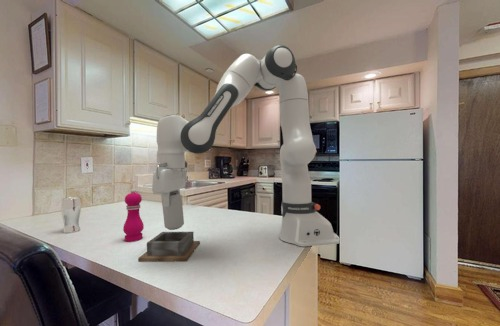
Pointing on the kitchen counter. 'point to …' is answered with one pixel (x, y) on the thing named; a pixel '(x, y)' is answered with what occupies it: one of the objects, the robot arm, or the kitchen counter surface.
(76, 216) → the beer glass
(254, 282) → the kitchen counter surface
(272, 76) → the robot arm
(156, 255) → the collar plate
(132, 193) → the pepper mill
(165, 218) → the beverage can
